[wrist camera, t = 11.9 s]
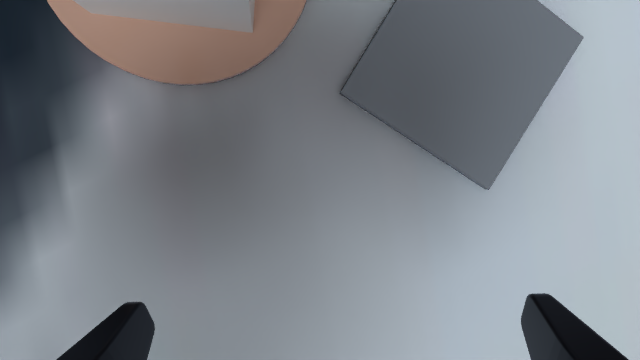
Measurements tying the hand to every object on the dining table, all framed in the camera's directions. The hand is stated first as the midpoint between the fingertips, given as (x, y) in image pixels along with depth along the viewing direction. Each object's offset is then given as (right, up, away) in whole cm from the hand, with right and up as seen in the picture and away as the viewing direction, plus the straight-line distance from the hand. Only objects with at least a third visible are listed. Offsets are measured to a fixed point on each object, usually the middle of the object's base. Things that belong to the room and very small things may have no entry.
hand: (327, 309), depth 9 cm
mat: (+8, +9, +12) cm, 17 cm away
